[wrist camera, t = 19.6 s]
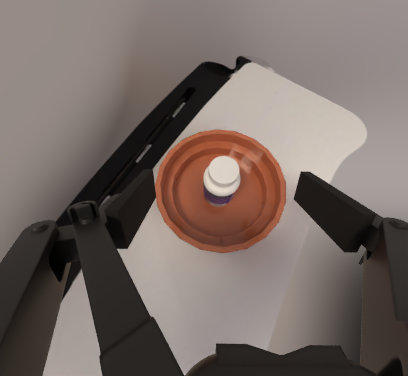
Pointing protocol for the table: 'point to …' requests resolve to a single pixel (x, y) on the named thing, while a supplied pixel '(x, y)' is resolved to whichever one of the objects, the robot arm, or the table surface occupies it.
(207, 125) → the table surface
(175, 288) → the table surface
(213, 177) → the pill bottle
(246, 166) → the bowl
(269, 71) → the table surface
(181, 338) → the table surface
